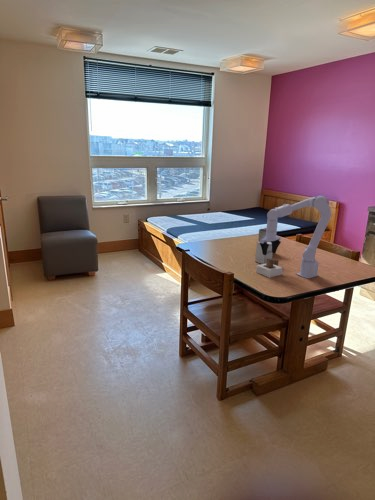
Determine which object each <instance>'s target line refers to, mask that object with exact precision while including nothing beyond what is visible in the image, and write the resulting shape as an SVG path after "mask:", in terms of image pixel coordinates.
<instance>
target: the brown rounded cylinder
mask: <svg viewBox="0 0 375 500" xmlns="http://www.w3.org/2000/svg"><path fill="white" fill-rule="evenodd" d="M274 260H275V259H273V258H272V259H267V261H266V268H269V269H271V268H273V266H274Z"/></svg>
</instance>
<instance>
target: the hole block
mask: <svg viewBox="0 0 375 500" xmlns="http://www.w3.org/2000/svg"><path fill="white" fill-rule="evenodd" d="M283 268H284V267H282V266H280V265H278V266H277V265H274V266H273V268H271V269H269V268H266V264H257V265H256V269H255V271H256V274H259V275H262V276H265V277H267V278H268V279H269V278H273V277H277V276H281V275H282V274H283Z"/></svg>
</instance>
